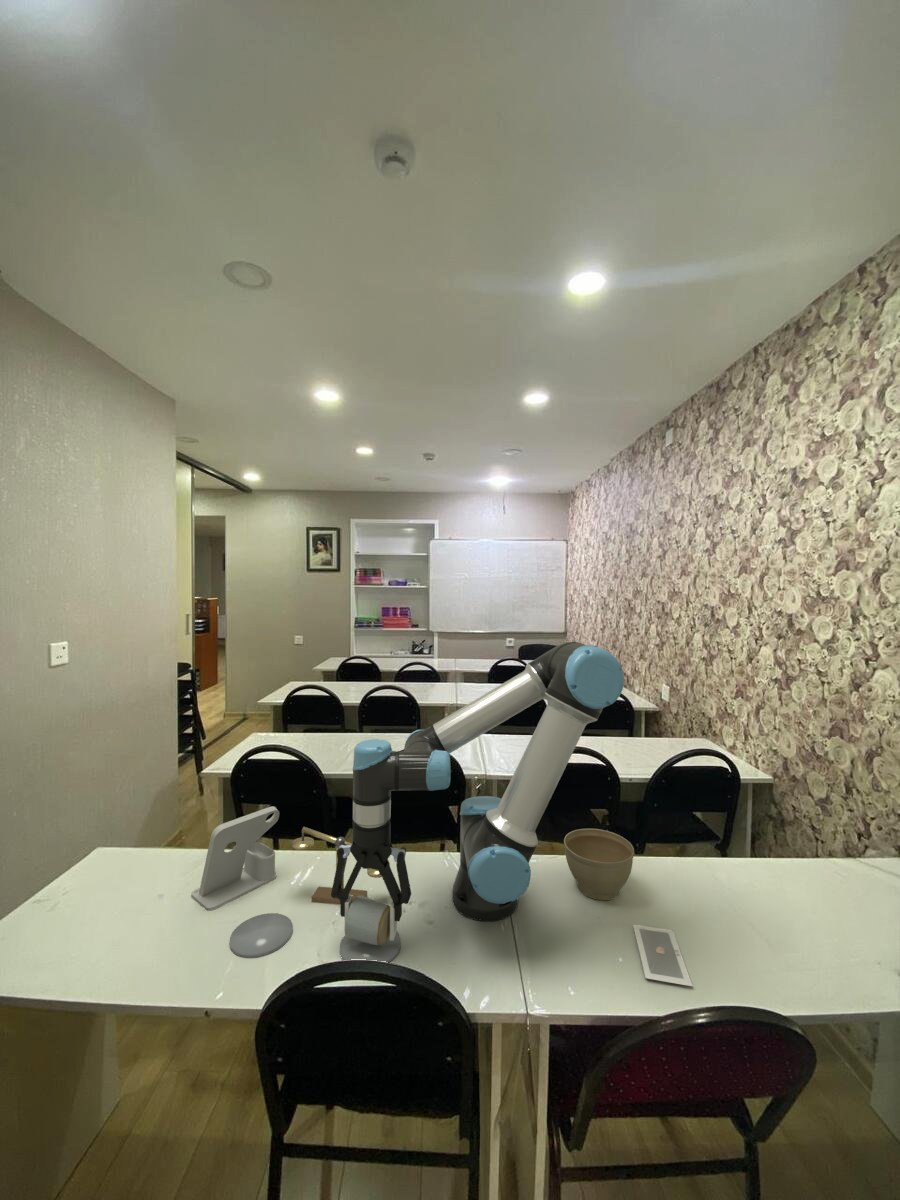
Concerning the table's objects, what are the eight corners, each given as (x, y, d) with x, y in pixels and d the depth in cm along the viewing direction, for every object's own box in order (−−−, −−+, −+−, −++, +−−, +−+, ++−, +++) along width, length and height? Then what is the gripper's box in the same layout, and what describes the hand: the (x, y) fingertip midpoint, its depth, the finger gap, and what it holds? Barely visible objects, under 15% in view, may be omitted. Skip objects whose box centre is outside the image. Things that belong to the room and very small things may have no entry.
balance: (391, 896, 111) (391, 827, 111) (385, 910, 106) (386, 838, 106) (296, 888, 113) (297, 821, 114) (287, 901, 108) (288, 831, 109)
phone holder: (258, 863, 124) (259, 795, 124) (280, 877, 118) (281, 805, 118) (189, 895, 111) (190, 818, 111) (209, 913, 104) (210, 831, 105)
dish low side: (406, 929, 100) (406, 925, 100) (392, 973, 88) (392, 968, 88) (351, 924, 101) (351, 920, 101) (330, 966, 89) (330, 962, 89)
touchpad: (645, 984, 86) (645, 972, 86) (632, 929, 101) (633, 919, 101) (692, 992, 84) (692, 980, 84) (672, 935, 99) (672, 925, 99)
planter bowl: (556, 871, 122) (556, 828, 122) (617, 870, 123) (617, 828, 123) (575, 911, 106) (575, 862, 106) (645, 910, 106) (646, 861, 107)
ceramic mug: (380, 956, 89) (380, 916, 90) (343, 946, 92) (344, 907, 92) (401, 922, 99) (402, 886, 99) (367, 914, 102) (368, 880, 102)
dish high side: (302, 919, 102) (302, 915, 102) (275, 960, 90) (275, 956, 90) (250, 914, 104) (250, 910, 104) (216, 954, 92) (216, 950, 92)
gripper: (427, 814, 97) (426, 925, 97) (327, 808, 100) (326, 916, 99) (420, 832, 90) (419, 952, 89) (313, 825, 92) (312, 942, 92)
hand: (370, 933), depth 94 cm, fingers closed on ceramic mug, 8 cm apart
